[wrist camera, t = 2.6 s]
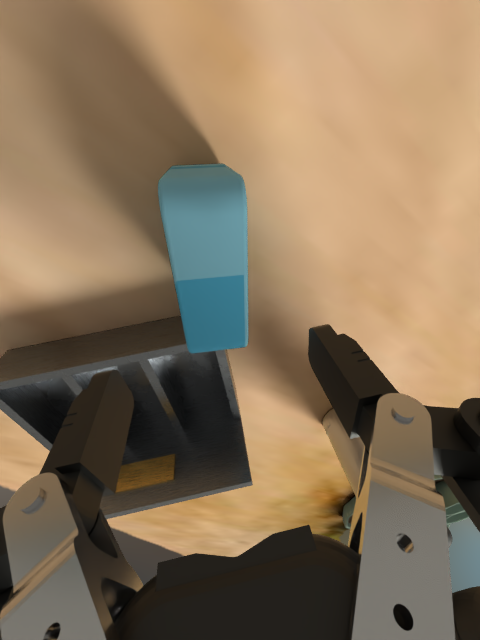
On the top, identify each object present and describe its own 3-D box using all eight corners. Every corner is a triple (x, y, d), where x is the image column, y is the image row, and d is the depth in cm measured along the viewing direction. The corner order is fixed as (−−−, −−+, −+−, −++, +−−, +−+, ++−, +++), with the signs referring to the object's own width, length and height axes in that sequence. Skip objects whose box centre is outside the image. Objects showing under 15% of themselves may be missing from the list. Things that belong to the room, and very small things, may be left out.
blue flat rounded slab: (171, 164, 22) (153, 181, 12) (223, 162, 22) (247, 177, 12) (190, 288, 28) (189, 363, 19) (230, 284, 29) (249, 355, 19)
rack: (217, 308, 30) (230, 400, 20) (236, 391, 40) (252, 485, 29) (7, 350, 29) (-102, 472, 18) (77, 425, 39) (32, 536, 28)
